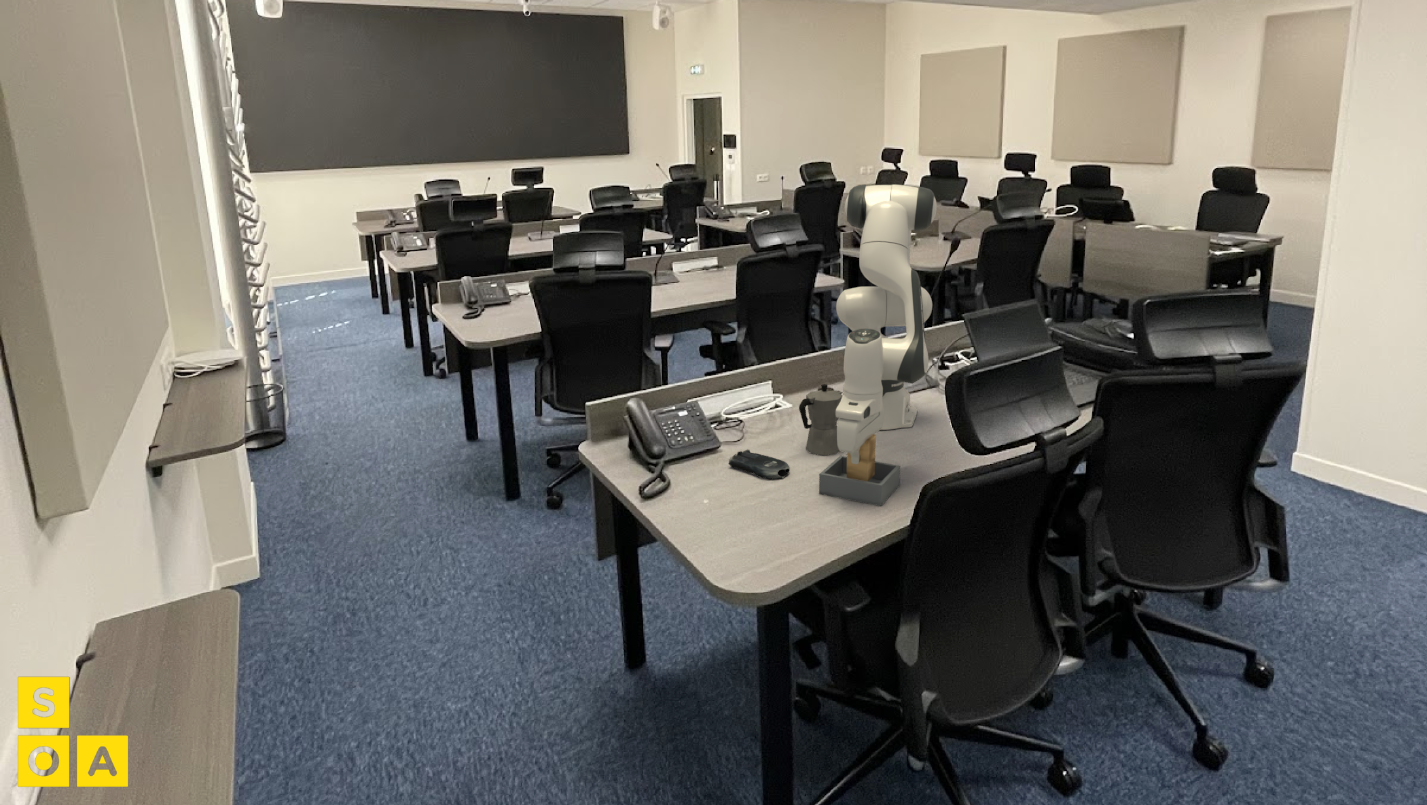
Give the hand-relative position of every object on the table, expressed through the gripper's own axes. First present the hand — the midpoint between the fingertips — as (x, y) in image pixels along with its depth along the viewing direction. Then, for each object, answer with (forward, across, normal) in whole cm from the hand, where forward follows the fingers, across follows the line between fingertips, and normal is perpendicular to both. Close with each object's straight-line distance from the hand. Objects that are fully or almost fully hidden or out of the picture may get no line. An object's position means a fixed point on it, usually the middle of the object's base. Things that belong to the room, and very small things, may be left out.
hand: (860, 458), depth 201 cm
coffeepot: (+8, -19, -18) cm, 28 cm away
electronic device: (+8, 0, -26) cm, 27 cm away
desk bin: (+8, 0, 0) cm, 8 cm away
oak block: (+5, 0, 0) cm, 5 cm away
